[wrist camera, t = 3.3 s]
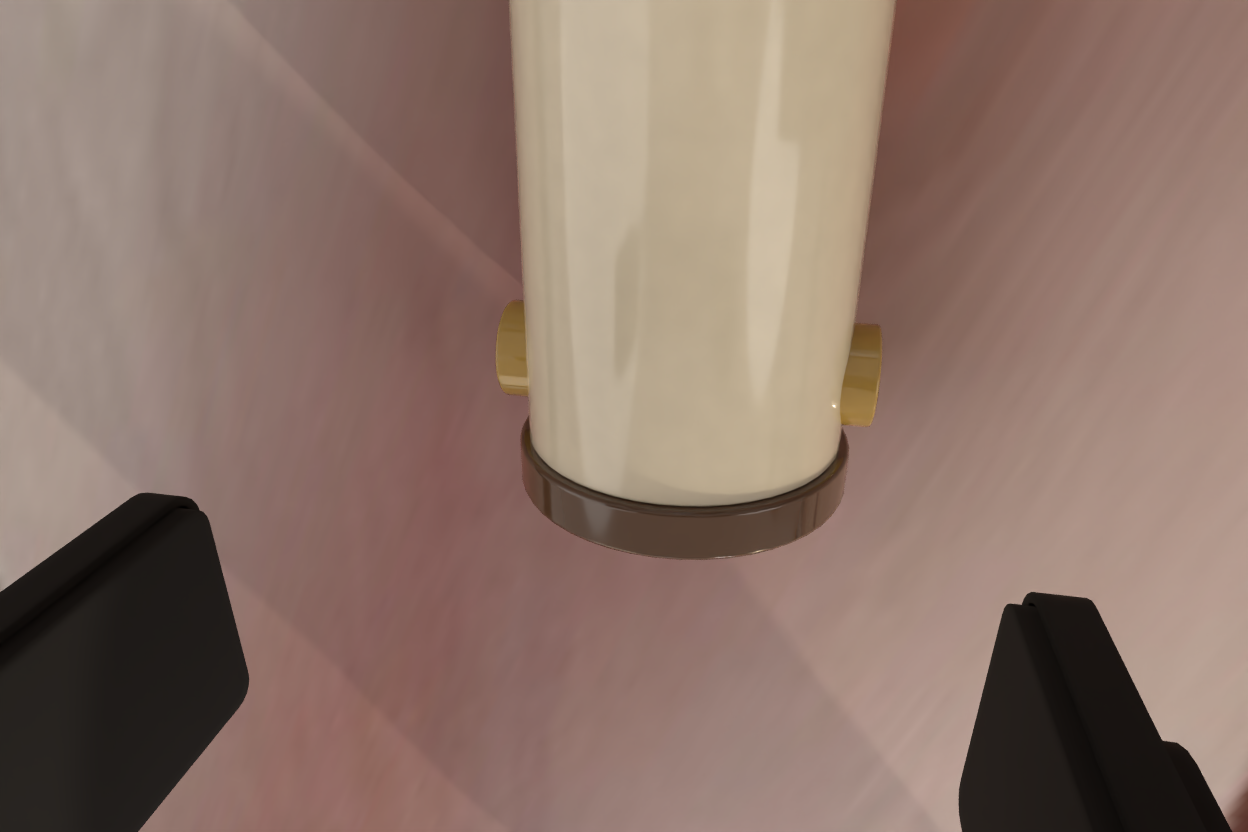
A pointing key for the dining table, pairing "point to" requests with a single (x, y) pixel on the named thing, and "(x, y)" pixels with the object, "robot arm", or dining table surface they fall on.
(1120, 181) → the dining table surface
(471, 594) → the dining table surface
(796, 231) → the jar
